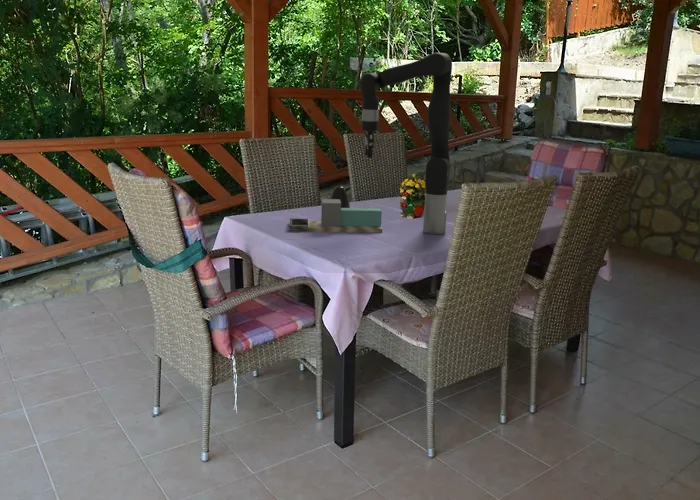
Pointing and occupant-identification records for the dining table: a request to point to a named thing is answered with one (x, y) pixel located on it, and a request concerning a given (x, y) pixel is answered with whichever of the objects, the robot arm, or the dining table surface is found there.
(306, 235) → the dining table surface
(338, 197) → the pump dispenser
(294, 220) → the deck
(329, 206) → the tunnel
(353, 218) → the teal pillar
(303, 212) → the dining table surface
